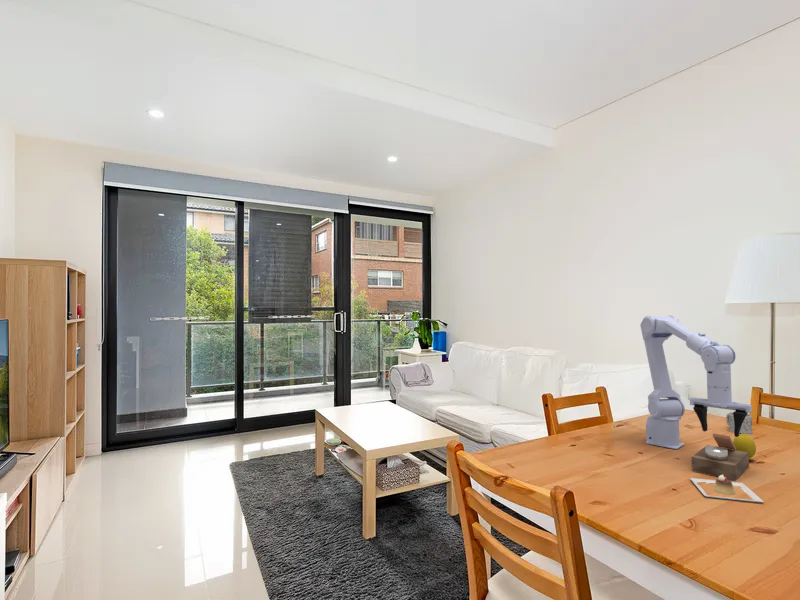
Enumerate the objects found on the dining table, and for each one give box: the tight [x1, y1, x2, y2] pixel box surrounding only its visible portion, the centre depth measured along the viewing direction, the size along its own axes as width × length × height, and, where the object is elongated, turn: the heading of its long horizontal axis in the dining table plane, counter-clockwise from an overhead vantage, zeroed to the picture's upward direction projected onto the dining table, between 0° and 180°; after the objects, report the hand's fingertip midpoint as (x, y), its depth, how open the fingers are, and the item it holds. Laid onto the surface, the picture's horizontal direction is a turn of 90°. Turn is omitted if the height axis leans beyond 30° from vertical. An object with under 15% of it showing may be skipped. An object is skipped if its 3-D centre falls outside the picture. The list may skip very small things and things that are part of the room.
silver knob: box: [704, 445, 728, 461], centre depth 122 cm, size 5×5×6 cm
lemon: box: [732, 434, 757, 459], centre depth 132 cm, size 6×6×8 cm
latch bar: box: [712, 433, 736, 450], centre depth 128 cm, size 8×4×1 cm
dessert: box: [689, 475, 765, 504], centre depth 109 cm, size 12×12×5 cm
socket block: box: [691, 444, 750, 482], centre depth 125 cm, size 10×16×4 cm, turn 131°
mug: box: [725, 411, 753, 435], centre depth 163 cm, size 10×7×7 cm
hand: (720, 433), depth 126 cm, fingers open, 7 cm apart
